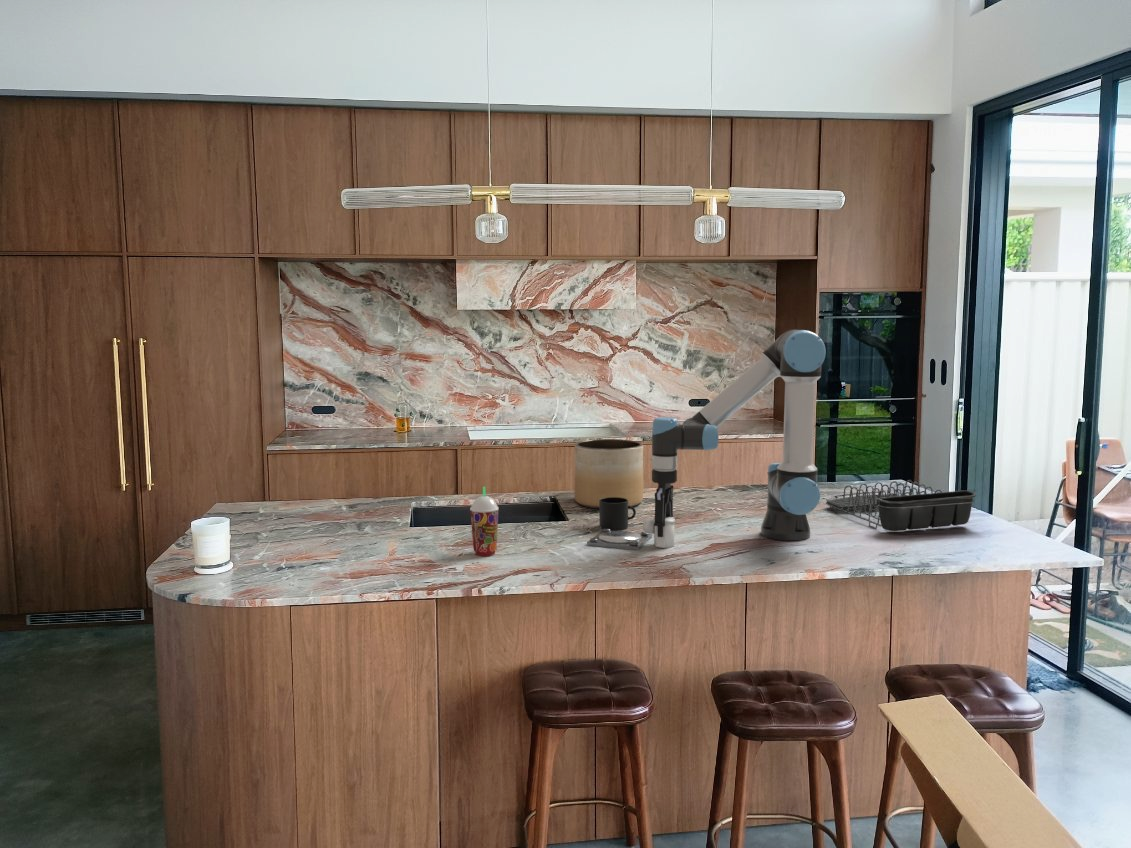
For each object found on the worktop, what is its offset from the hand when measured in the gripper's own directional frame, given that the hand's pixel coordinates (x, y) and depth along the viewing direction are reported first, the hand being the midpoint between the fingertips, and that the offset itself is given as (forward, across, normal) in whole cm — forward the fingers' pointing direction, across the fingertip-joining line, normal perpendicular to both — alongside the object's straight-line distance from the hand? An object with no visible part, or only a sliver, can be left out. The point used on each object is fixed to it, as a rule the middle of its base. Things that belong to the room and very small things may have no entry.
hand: (663, 544), depth 270 cm
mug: (+1, -17, -20) cm, 26 cm away
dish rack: (+1, -61, +65) cm, 89 cm away
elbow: (0, 0, -1) cm, 1 cm away
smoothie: (+1, +27, -47) cm, 54 cm away
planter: (+1, -51, -34) cm, 61 cm away
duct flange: (0, 0, -14) cm, 14 cm away
